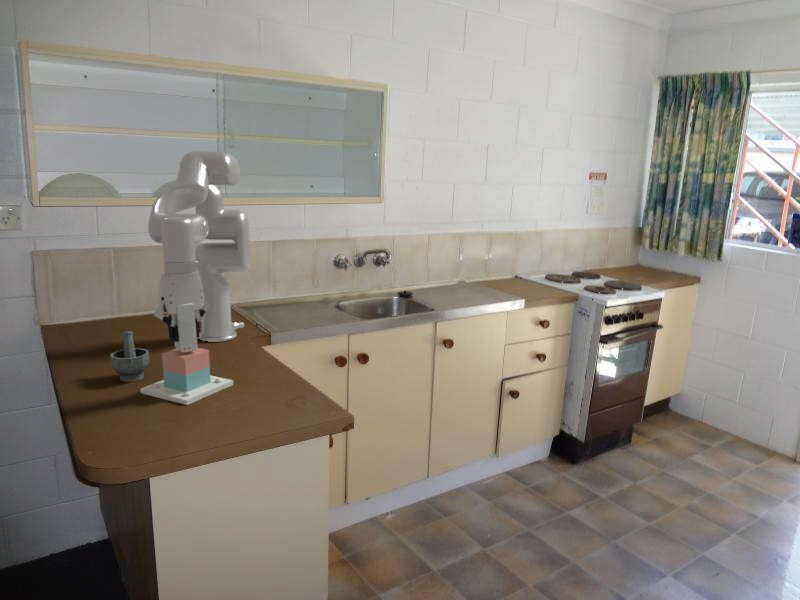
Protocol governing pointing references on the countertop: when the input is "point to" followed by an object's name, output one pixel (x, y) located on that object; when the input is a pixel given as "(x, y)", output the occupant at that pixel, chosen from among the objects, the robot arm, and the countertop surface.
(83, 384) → the countertop surface
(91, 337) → the countertop surface
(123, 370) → the mortar and pestle
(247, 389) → the countertop surface
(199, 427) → the countertop surface
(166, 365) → the block on square base
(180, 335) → the skincare box
